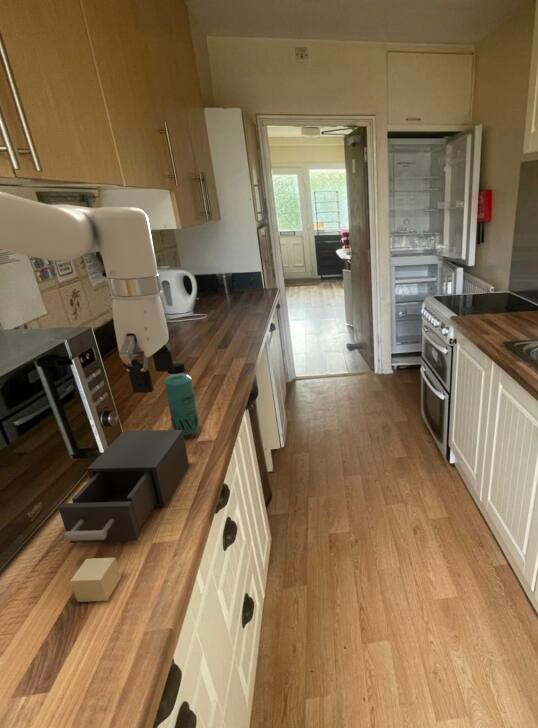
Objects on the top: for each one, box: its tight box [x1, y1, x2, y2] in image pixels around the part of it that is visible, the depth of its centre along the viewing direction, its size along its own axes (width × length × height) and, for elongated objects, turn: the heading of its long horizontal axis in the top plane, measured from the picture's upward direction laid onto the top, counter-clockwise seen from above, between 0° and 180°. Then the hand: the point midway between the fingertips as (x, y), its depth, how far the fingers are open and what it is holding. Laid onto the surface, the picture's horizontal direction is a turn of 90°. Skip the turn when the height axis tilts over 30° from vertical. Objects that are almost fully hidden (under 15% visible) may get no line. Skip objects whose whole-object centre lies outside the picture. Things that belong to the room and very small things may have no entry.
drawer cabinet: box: [86, 429, 190, 508], centre depth 90 cm, size 15×13×10 cm
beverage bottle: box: [164, 361, 200, 436], centre depth 108 cm, size 6×7×20 cm
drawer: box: [57, 471, 158, 544], centre depth 78 cm, size 18×11×8 cm, turn 4°
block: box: [69, 557, 122, 603], centre depth 67 cm, size 4×4×4 cm
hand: (155, 380), depth 78 cm, fingers open, 9 cm apart
